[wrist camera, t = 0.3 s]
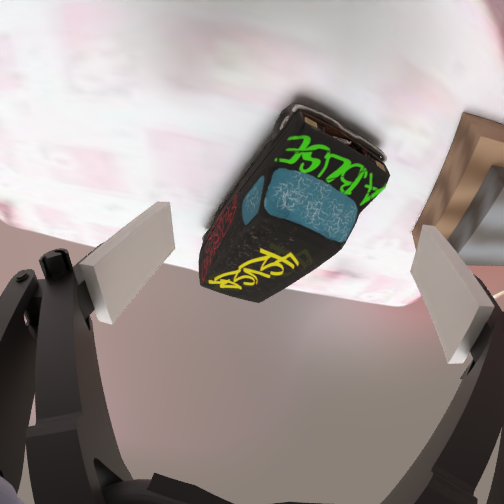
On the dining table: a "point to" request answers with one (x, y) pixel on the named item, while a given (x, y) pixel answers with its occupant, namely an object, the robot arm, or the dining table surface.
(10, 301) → the robot arm
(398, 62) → the dining table surface
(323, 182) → the toy van
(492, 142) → the two-tone square platform
